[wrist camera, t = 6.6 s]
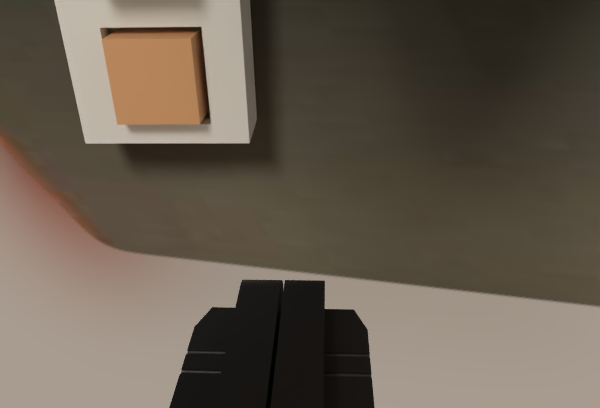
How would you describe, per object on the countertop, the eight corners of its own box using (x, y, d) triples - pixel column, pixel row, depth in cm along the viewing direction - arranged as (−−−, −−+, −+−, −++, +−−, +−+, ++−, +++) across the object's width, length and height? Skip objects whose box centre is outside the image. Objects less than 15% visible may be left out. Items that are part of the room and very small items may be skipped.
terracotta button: (119, 27, 33) (101, 39, 30) (201, 27, 32) (190, 38, 30) (133, 107, 35) (117, 124, 32) (209, 107, 35) (200, 124, 32)
